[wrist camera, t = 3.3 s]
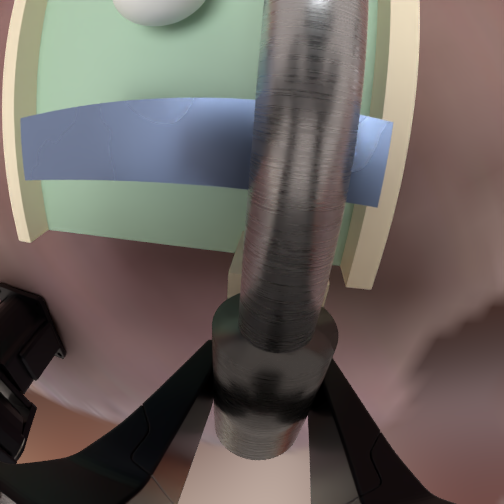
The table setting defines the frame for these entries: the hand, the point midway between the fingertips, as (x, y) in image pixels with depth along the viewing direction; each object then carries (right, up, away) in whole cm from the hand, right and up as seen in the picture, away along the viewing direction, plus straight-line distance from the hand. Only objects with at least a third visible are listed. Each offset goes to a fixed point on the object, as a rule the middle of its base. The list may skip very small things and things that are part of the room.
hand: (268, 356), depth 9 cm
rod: (-1, +10, -1) cm, 10 cm away
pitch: (-3, +17, -2) cm, 17 cm away
